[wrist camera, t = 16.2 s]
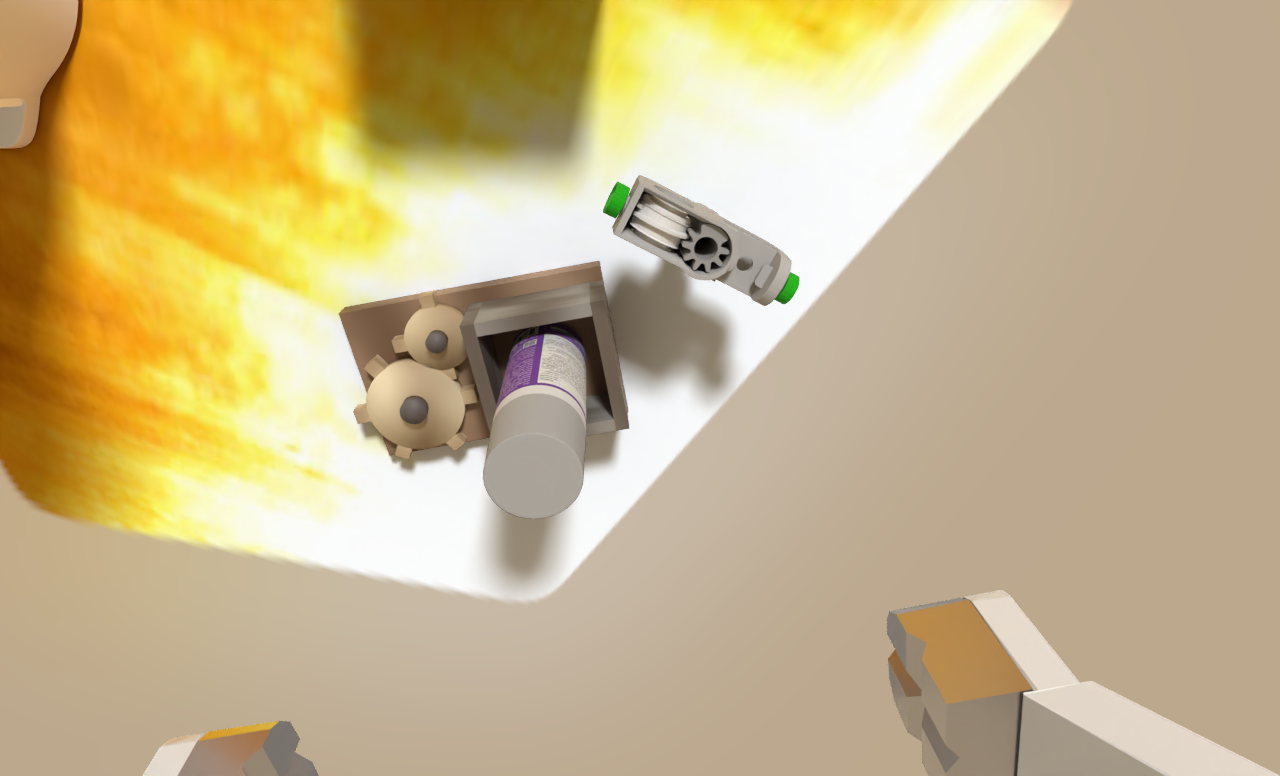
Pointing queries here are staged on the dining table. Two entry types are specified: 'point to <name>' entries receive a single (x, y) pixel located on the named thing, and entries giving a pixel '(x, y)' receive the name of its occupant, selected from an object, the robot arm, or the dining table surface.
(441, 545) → the dining table surface
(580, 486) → the container
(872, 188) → the dining table surface
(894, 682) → the robot arm
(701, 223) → the mechanical component
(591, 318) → the gear board
